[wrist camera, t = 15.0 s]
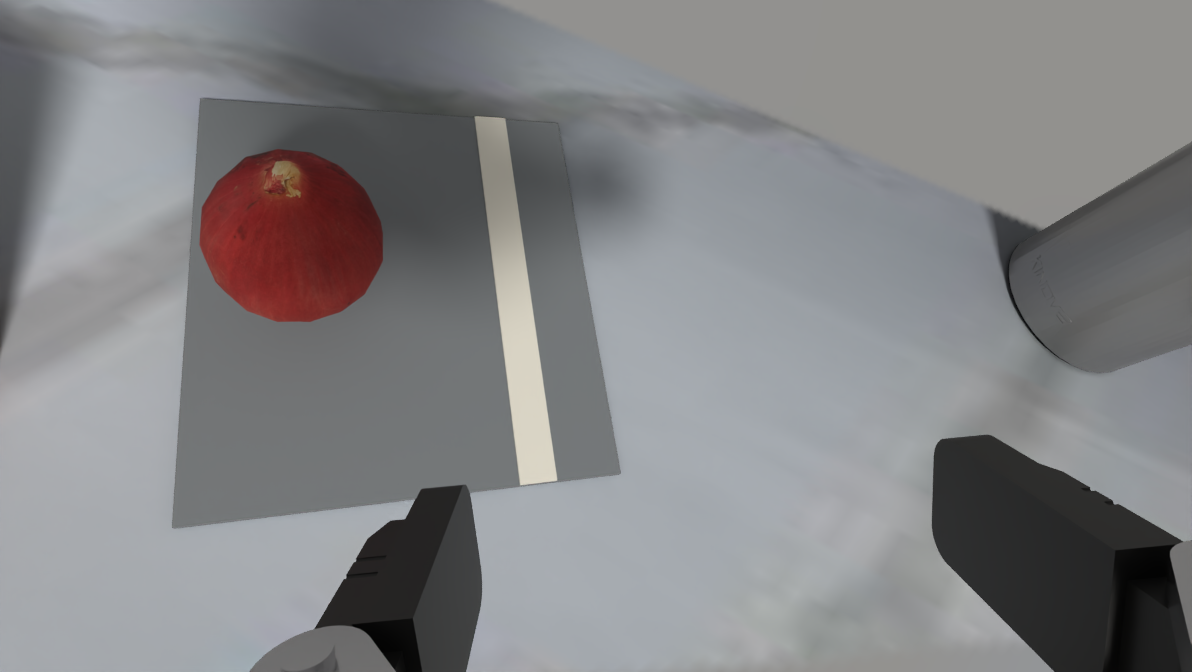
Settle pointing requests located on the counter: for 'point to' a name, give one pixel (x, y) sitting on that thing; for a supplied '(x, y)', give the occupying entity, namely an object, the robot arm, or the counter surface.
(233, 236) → the onion
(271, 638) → the counter surface
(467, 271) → the mat
